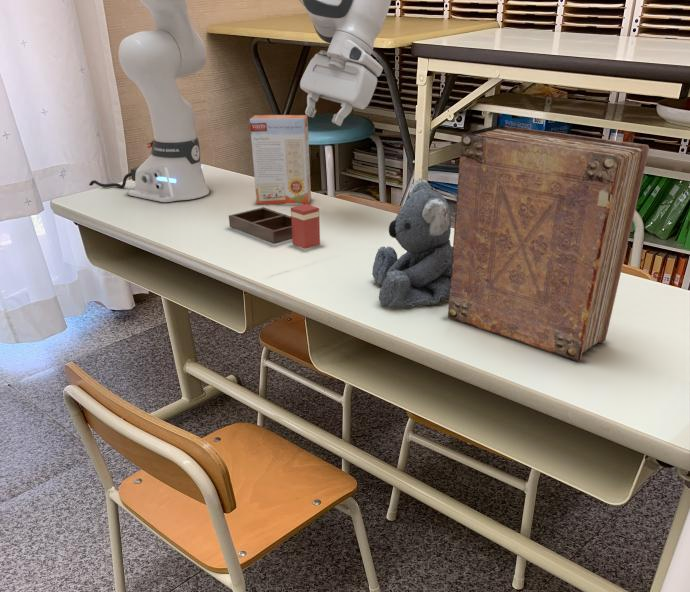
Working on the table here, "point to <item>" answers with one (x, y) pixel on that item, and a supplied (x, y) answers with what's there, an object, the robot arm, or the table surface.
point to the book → (542, 234)
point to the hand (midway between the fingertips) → (322, 120)
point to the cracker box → (281, 158)
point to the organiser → (263, 224)
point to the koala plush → (417, 252)
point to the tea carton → (305, 226)
